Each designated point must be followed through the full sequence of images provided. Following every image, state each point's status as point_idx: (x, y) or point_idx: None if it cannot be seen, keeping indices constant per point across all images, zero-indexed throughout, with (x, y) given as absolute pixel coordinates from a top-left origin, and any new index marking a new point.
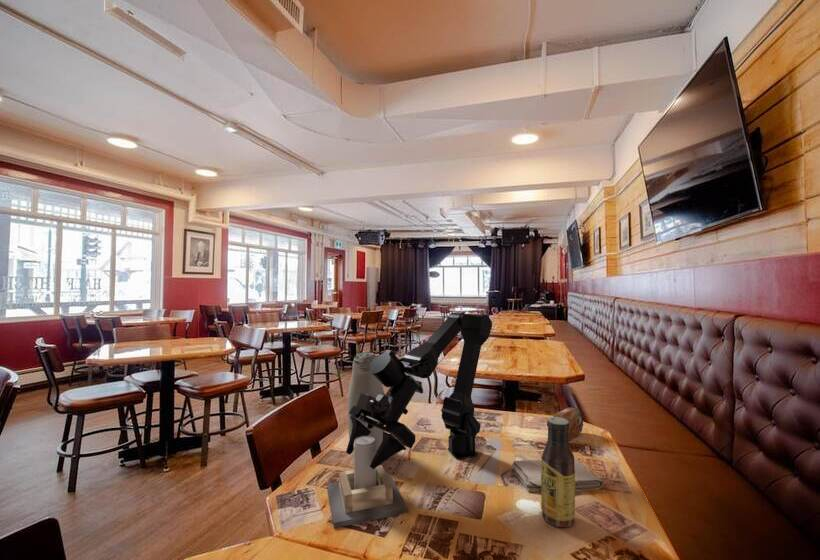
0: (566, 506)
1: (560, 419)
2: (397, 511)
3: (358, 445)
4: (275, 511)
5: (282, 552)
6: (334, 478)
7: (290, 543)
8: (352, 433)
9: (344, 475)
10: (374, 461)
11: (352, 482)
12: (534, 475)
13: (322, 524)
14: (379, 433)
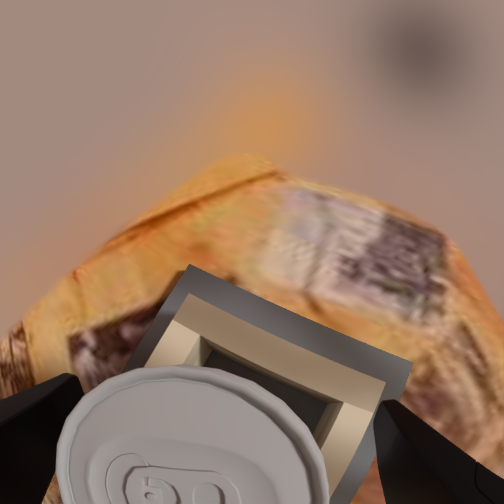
0: None
1: None
2: None
3: (152, 378)
4: (376, 204)
5: (217, 162)
6: (443, 414)
7: (230, 180)
8: (483, 484)
9: (340, 389)
10: (37, 385)
11: (321, 427)
12: None
13: (233, 258)
14: None
